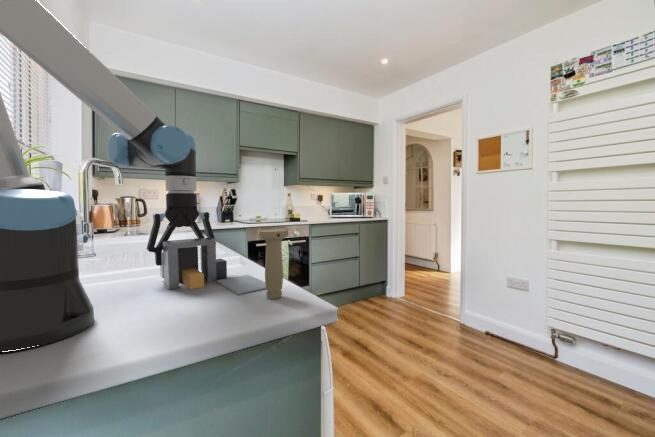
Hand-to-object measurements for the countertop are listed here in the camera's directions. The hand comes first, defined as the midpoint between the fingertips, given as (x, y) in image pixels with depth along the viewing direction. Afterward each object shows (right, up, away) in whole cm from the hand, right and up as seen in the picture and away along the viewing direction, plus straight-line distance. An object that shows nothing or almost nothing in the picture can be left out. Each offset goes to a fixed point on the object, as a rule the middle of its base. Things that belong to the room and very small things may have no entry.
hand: (184, 273), depth 83 cm
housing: (+5, -1, -4) cm, 7 cm away
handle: (+28, -3, -16) cm, 32 cm away
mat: (+18, -2, -6) cm, 19 cm away
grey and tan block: (+3, -1, -3) cm, 5 cm away
